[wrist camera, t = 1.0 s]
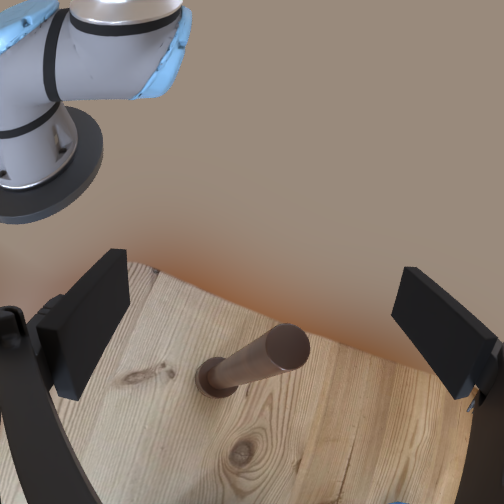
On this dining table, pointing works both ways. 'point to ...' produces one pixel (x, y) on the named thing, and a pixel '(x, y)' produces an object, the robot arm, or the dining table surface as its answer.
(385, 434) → the dining table surface
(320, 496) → the dining table surface
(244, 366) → the pestle
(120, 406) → the dining table surface
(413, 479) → the dining table surface
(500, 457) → the robot arm
